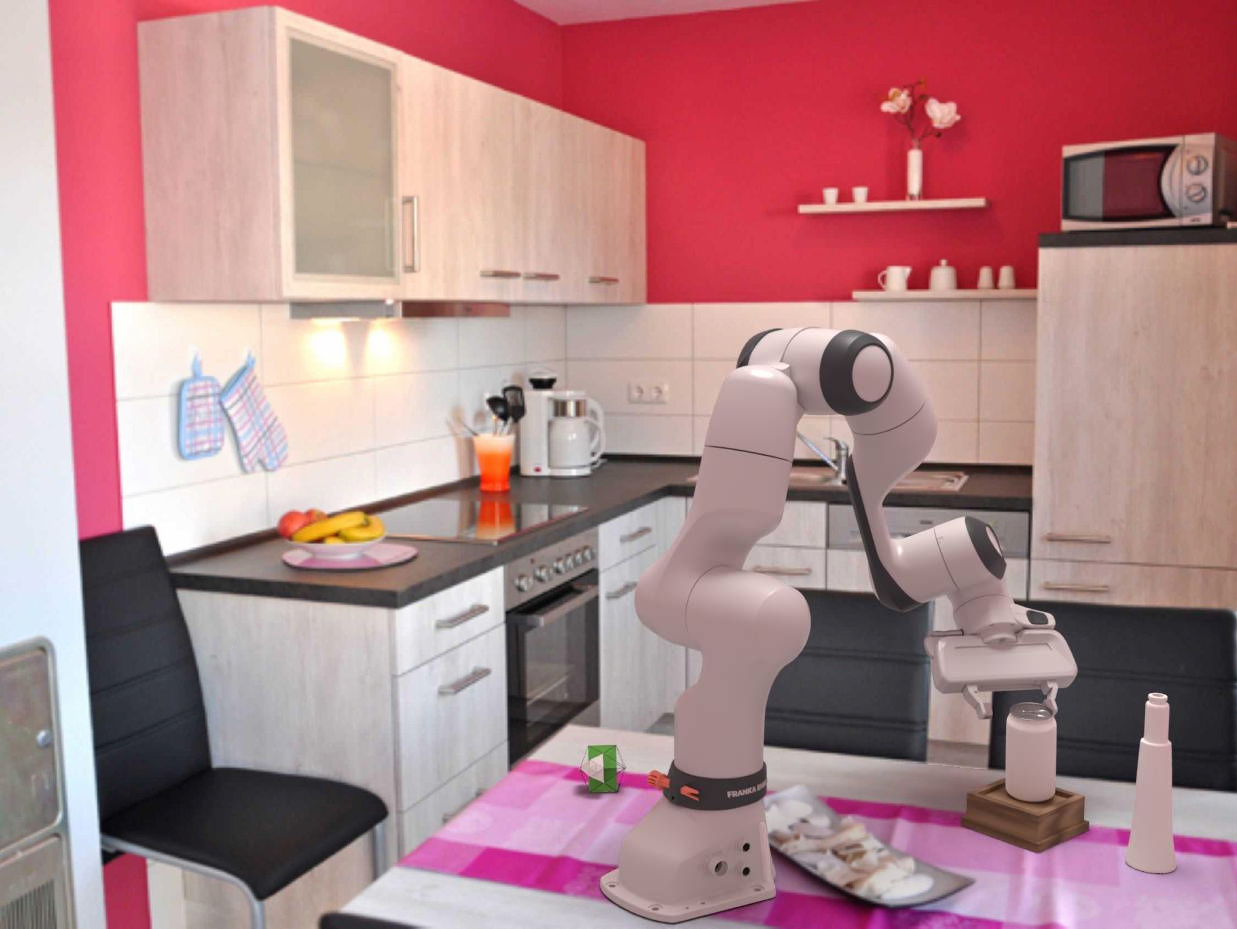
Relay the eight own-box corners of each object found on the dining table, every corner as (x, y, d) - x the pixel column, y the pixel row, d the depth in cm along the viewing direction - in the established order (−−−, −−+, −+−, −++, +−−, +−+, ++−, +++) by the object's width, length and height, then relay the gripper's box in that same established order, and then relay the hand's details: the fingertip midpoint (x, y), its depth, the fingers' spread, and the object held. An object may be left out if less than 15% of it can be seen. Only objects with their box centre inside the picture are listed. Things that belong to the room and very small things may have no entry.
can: (1059, 804, 175) (1061, 721, 173) (1010, 804, 176) (1011, 721, 173) (1049, 780, 182) (1051, 700, 179) (1001, 781, 182) (1002, 701, 180)
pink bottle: (1114, 858, 168) (1121, 691, 165) (1151, 851, 170) (1159, 686, 168) (1148, 877, 162) (1156, 704, 160) (1187, 869, 164) (1195, 699, 162)
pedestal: (1037, 853, 170) (1039, 818, 169) (960, 825, 179) (961, 792, 178) (1089, 829, 177) (1090, 796, 177) (1012, 804, 186) (1013, 772, 186)
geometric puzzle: (578, 763, 198) (578, 732, 192) (623, 762, 198) (625, 731, 193) (579, 805, 193) (580, 775, 187) (626, 804, 193) (628, 773, 188)
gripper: (927, 619, 183) (953, 708, 175) (1063, 614, 187) (1096, 701, 178) (914, 643, 188) (939, 730, 180) (1047, 637, 192) (1078, 722, 183)
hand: (1018, 715), depth 179 cm, fingers open, 8 cm apart
